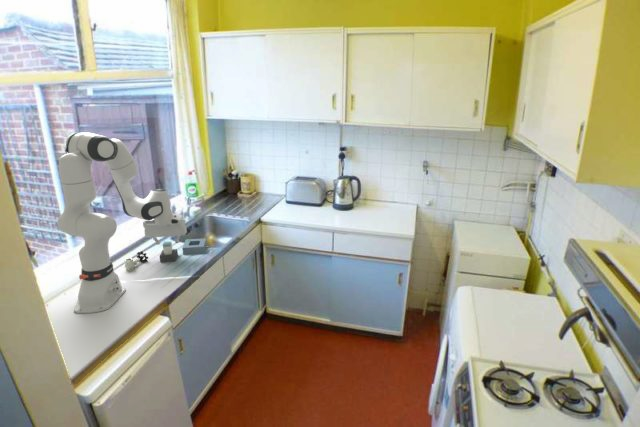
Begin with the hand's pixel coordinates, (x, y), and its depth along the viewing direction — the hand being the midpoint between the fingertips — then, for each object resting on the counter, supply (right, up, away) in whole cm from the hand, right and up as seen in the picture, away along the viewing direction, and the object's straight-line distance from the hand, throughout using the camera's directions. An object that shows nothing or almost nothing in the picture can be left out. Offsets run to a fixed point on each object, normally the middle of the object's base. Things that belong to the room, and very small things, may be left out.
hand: (167, 243), depth 202 cm
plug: (0, -8, +3) cm, 9 cm away
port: (+10, -5, +13) cm, 17 cm away
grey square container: (0, -9, +3) cm, 10 cm away
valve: (-15, -12, -4) cm, 19 cm away
